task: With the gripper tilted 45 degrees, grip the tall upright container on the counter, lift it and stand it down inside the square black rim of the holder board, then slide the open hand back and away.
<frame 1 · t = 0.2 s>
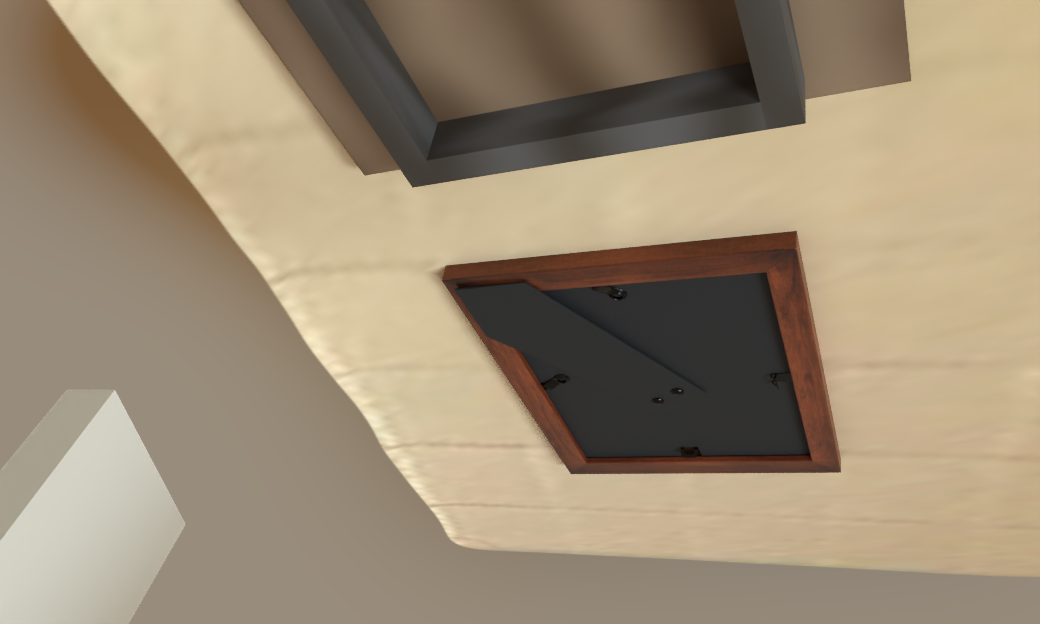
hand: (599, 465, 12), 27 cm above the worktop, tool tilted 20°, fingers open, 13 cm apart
picture frame: (662, 360, 62), on the worktop
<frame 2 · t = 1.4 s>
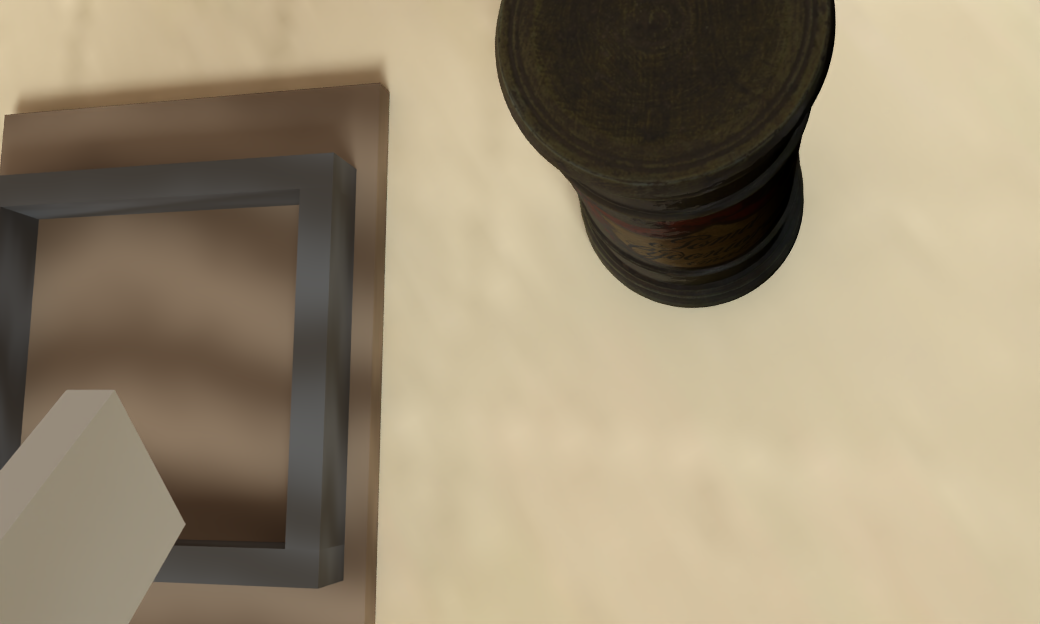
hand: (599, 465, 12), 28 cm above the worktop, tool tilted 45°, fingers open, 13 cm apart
container: (691, 207, 41), on the worktop
holder: (181, 373, 45), on the worktop
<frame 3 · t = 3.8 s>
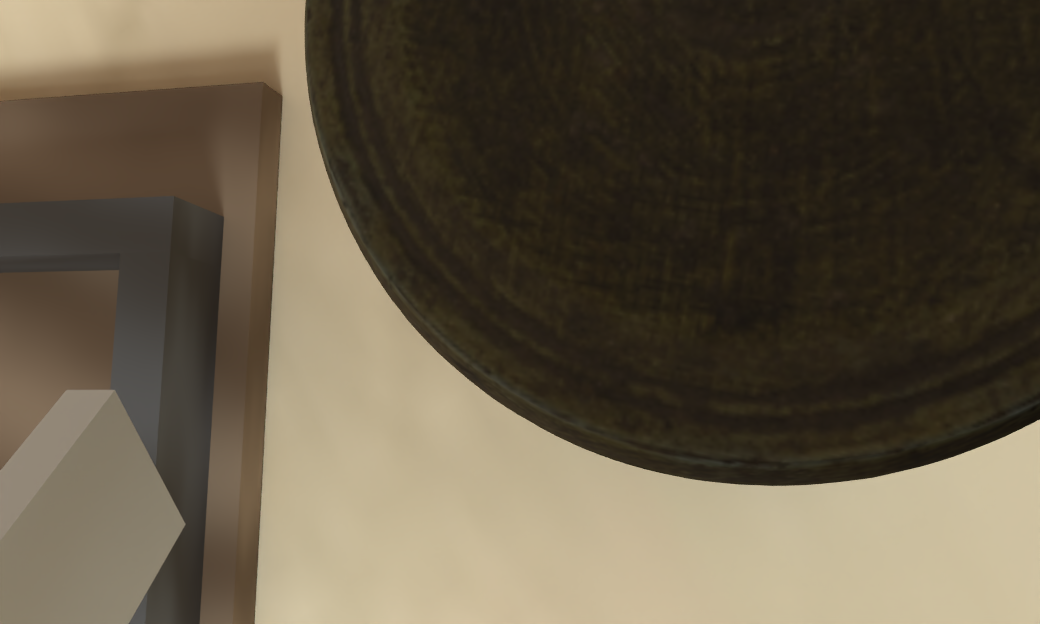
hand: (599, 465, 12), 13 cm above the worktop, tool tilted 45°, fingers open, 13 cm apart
container: (748, 291, 25), on the worktop
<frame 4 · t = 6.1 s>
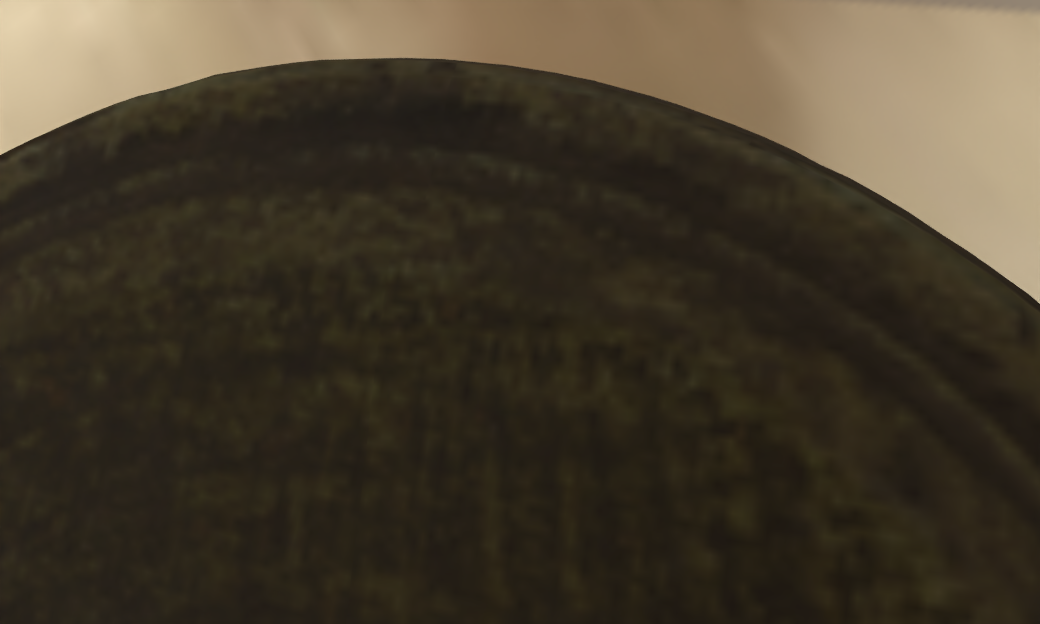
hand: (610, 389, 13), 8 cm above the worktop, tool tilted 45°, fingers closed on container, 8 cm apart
container: (660, 567, 21), on the worktop, touching gripper
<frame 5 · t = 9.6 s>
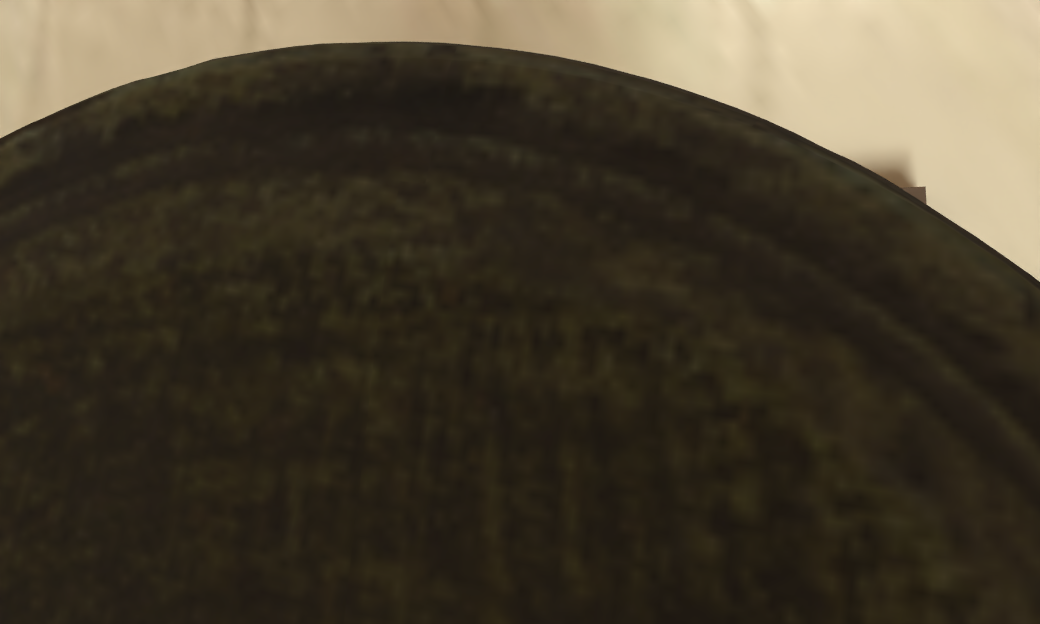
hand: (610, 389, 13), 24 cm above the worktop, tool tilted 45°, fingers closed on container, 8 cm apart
container: (660, 565, 21), point 15 cm above the worktop, touching gripper
when the fingers open (9 cm above the worktop, at t = 13.4 s): container stays where it is, resting on holder.
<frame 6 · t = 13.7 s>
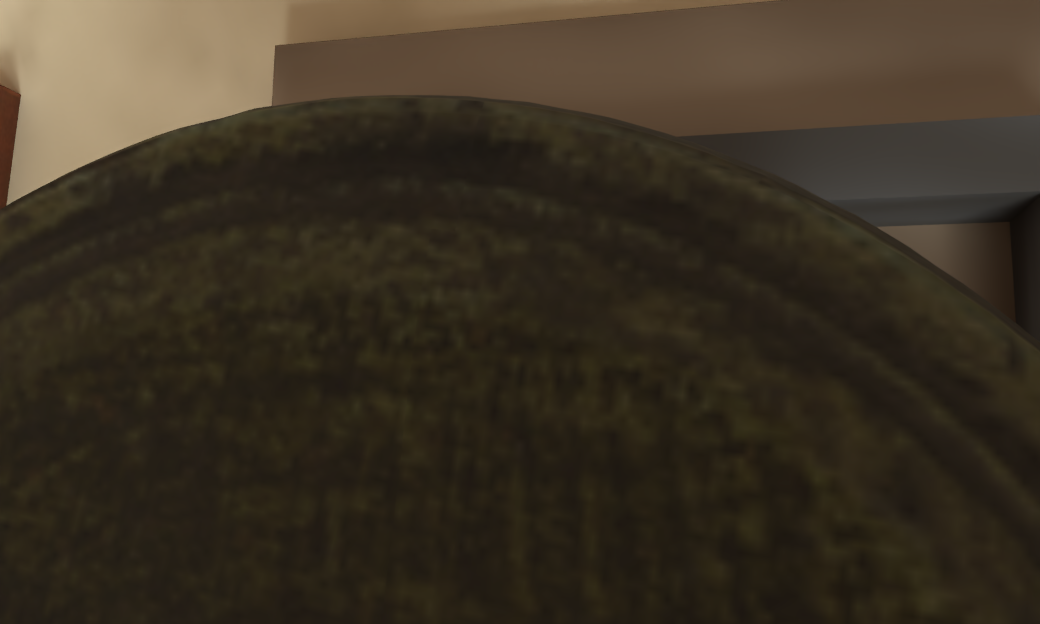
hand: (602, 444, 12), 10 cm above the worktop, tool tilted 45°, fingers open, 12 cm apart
container: (659, 567, 21), point 1 cm above the worktop, touching holder
holder: (664, 560, 22), on the worktop
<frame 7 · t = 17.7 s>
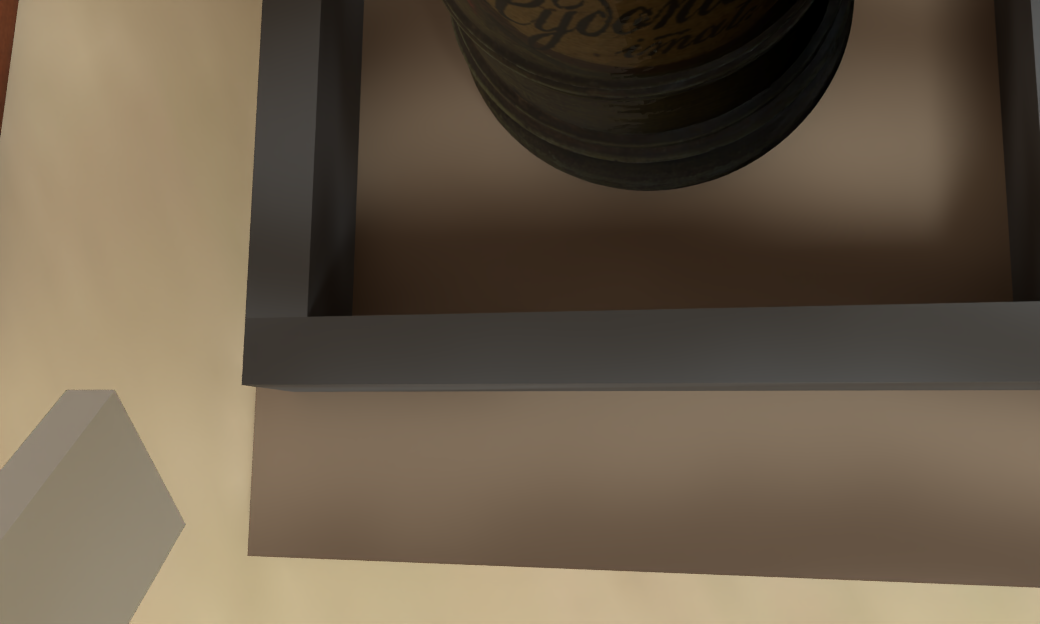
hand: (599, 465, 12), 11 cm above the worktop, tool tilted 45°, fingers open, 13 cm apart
container: (653, 21, 23), point 1 cm above the worktop, touching holder
holder: (658, 37, 24), on the worktop
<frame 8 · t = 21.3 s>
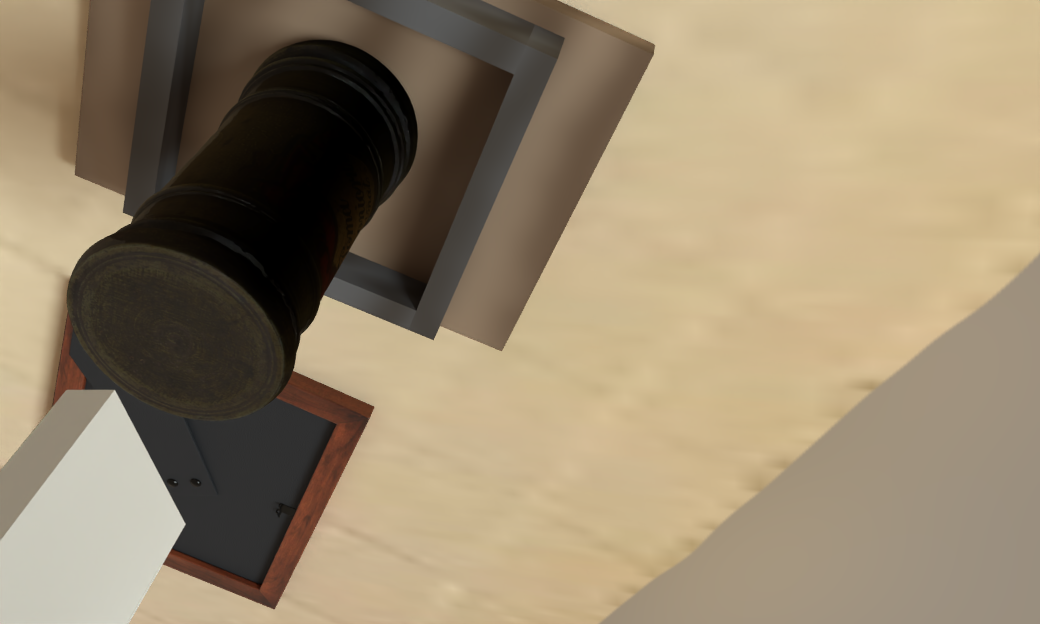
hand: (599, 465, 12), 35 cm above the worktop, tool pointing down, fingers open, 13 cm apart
container: (336, 120, 48), point 1 cm above the worktop, touching holder
holder: (342, 110, 49), on the worktop
picture frame: (198, 450, 69), on the worktop
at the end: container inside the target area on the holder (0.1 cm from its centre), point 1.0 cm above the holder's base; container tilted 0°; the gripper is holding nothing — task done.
